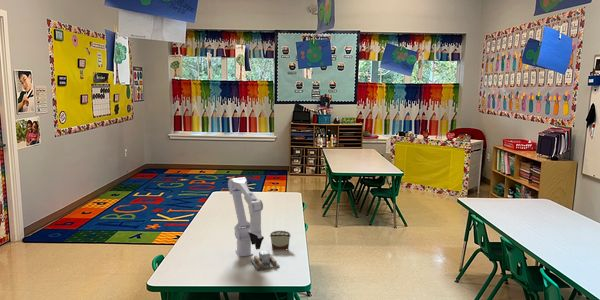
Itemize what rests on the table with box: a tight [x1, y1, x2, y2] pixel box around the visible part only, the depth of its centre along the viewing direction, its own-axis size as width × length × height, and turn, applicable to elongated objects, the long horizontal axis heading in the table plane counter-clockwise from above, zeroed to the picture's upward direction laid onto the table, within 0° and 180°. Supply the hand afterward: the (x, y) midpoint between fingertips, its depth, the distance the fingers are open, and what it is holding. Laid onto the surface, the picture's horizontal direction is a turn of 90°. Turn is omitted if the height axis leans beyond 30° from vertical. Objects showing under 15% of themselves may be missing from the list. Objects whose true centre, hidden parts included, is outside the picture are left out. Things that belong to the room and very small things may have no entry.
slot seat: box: [250, 254, 280, 272], centre depth 239 cm, size 12×12×4 cm
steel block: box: [258, 250, 271, 265], centre depth 238 cm, size 4×4×6 cm
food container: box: [269, 230, 292, 251], centre depth 262 cm, size 12×6×10 cm, turn 92°
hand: (255, 246), depth 240 cm, fingers open, 7 cm apart
